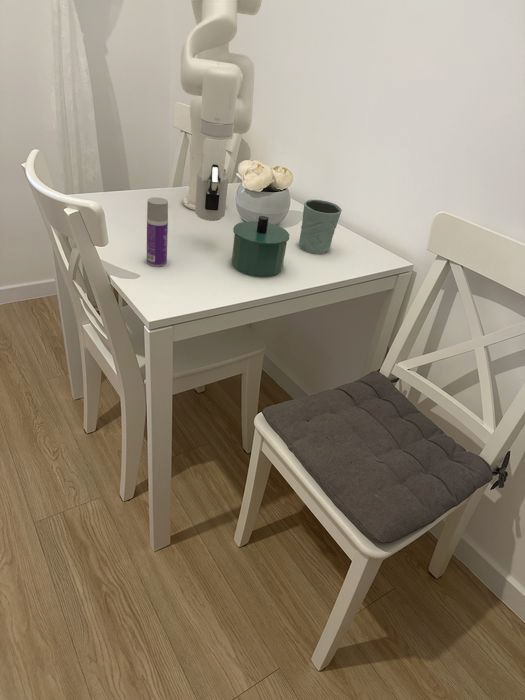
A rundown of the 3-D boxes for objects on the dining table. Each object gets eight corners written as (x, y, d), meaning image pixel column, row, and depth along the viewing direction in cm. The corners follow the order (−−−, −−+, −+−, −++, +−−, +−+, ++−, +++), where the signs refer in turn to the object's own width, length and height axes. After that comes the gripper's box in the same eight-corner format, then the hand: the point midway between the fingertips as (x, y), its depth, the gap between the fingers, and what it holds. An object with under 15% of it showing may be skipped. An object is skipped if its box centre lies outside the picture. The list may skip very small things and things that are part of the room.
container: (167, 266, 120) (169, 204, 112) (147, 266, 119) (148, 204, 110) (165, 258, 124) (166, 197, 115) (145, 258, 122) (145, 196, 114)
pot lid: (235, 245, 116) (237, 226, 114) (230, 223, 127) (232, 205, 125) (293, 249, 119) (296, 230, 116) (283, 227, 130) (286, 210, 127)
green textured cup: (306, 237, 147) (314, 196, 141) (337, 248, 144) (347, 207, 137) (290, 247, 140) (297, 204, 133) (323, 259, 136) (332, 215, 130)
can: (219, 224, 125) (224, 175, 118) (190, 218, 126) (193, 169, 119) (227, 214, 131) (232, 167, 124) (199, 208, 132) (203, 161, 125)
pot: (233, 275, 121) (237, 242, 116) (230, 253, 131) (233, 221, 126) (285, 278, 123) (291, 246, 119) (277, 256, 133) (282, 225, 129)
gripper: (199, 117, 122) (194, 190, 133) (201, 136, 109) (196, 215, 119) (230, 121, 124) (223, 192, 134) (236, 140, 110) (228, 218, 120)
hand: (210, 203), depth 126 cm, fingers closed on can, 7 cm apart
